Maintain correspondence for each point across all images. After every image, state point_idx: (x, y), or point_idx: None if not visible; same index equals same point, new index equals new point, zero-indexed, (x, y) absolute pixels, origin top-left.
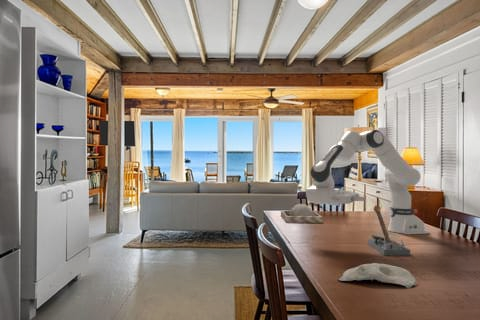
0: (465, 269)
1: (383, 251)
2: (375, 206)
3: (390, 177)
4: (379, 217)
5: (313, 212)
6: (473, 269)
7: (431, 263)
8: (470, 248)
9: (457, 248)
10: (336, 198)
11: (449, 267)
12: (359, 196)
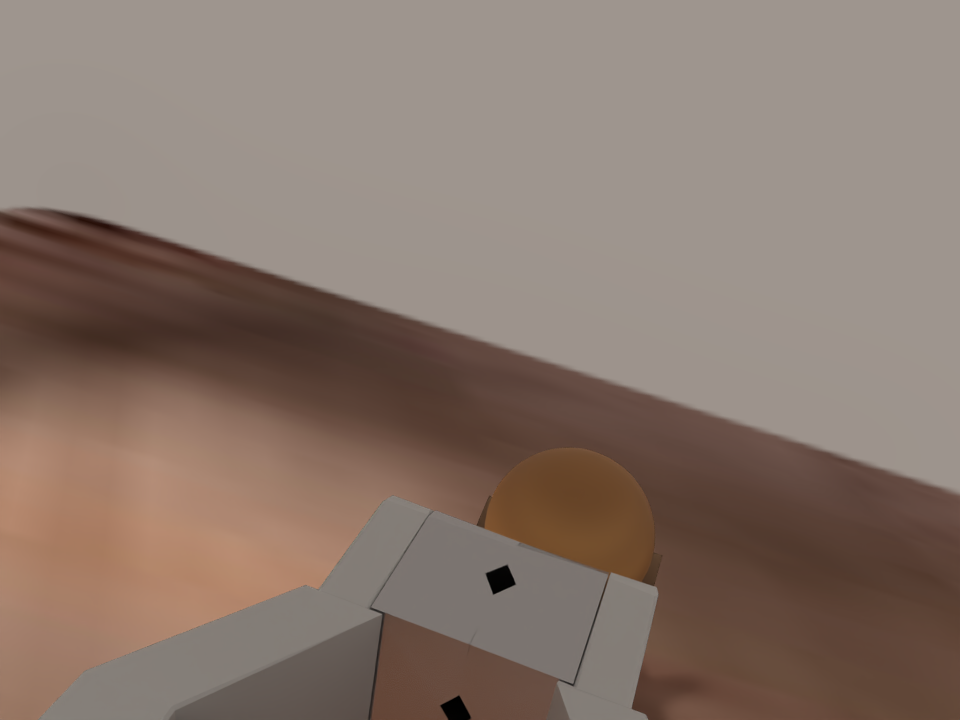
0: (808, 474)
1: None
2: (626, 518)
3: None
4: None
5: None
6: (780, 441)
7: (780, 599)
8: (252, 282)
9: (258, 327)
10: None
11: (819, 532)
12: (292, 645)
